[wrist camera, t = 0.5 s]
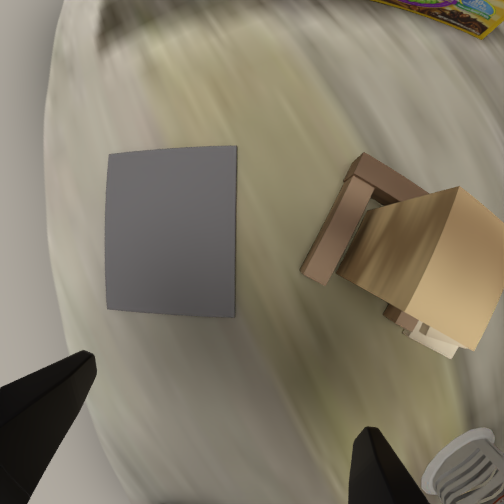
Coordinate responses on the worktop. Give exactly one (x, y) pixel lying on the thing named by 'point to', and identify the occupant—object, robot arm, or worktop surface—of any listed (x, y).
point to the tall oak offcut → (433, 261)
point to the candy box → (457, 13)
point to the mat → (171, 231)
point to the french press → (466, 469)
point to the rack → (344, 223)
